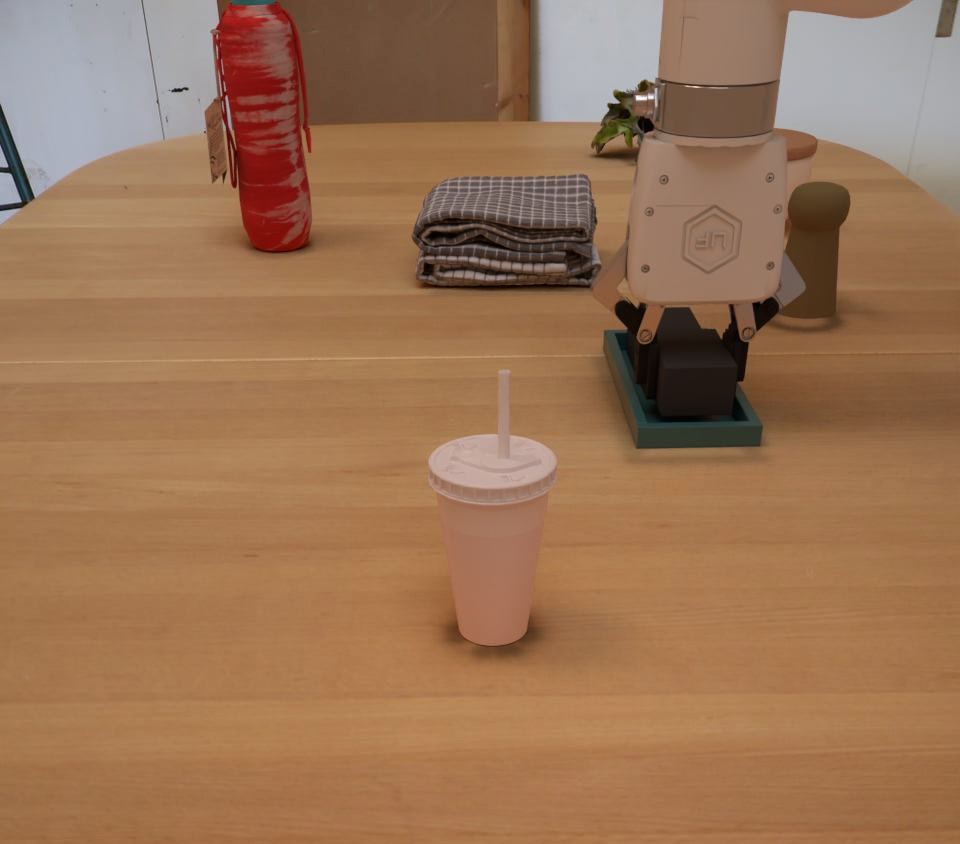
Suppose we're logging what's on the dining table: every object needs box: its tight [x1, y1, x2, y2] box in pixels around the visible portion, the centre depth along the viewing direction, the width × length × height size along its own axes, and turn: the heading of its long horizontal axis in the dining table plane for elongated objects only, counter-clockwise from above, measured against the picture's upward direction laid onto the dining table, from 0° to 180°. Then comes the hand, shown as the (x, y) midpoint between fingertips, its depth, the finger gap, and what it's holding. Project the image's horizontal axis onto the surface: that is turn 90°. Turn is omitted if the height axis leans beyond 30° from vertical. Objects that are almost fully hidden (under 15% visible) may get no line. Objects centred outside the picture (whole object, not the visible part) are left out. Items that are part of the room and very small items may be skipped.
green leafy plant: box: [590, 78, 655, 163], centre depth 158 cm, size 11×11×12 cm
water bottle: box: [203, 0, 313, 253], centre depth 116 cm, size 12×8×25 cm, turn 81°
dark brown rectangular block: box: [626, 306, 703, 385], centre depth 89 cm, size 8×5×4 cm, turn 2°
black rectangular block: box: [654, 328, 738, 417], centre depth 81 cm, size 8×5×4 cm, turn 2°
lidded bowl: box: [774, 127, 819, 221], centre depth 125 cm, size 13×13×11 cm
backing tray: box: [602, 327, 764, 450], centre depth 86 cm, size 21×9×2 cm, turn 1°
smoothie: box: [427, 369, 558, 647], centre depth 56 cm, size 6×6×14 cm
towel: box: [410, 173, 603, 287], centre depth 113 cm, size 15×18×8 cm
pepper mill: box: [776, 181, 851, 320], centre depth 99 cm, size 6×6×11 cm
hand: (687, 389), depth 82 cm, fingers closed on black rectangular block, 5 cm apart
